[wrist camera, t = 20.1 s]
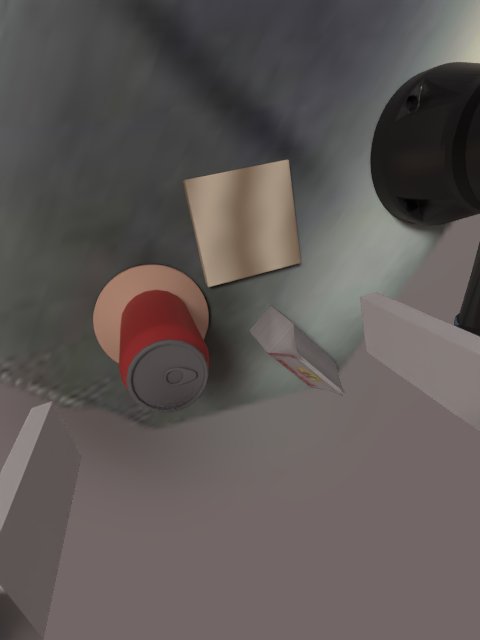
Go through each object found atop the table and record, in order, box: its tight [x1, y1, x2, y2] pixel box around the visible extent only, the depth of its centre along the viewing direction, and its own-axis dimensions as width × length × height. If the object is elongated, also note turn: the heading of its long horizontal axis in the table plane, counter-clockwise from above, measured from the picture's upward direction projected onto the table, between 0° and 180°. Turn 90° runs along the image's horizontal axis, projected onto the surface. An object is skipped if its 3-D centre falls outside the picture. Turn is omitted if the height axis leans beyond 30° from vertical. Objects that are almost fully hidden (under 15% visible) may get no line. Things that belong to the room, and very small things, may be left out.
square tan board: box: [183, 160, 301, 287], centre depth 35 cm, size 10×10×1 cm
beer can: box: [119, 290, 210, 413], centre depth 30 cm, size 7×7×12 cm
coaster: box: [93, 264, 209, 363], centre depth 36 cm, size 11×11×1 cm
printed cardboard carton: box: [249, 306, 344, 395], centre depth 37 cm, size 4×7×10 cm, turn 47°
